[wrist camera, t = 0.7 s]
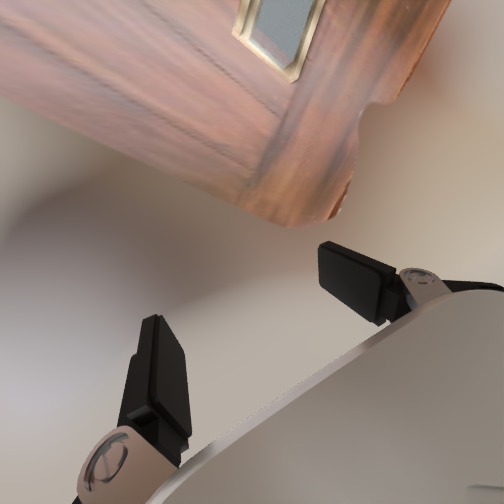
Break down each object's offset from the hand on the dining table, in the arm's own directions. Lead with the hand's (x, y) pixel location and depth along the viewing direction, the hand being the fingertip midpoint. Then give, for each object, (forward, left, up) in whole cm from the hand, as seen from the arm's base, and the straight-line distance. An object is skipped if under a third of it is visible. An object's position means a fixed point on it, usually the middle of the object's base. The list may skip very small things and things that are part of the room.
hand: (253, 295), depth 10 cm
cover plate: (-28, +19, -28) cm, 44 cm away
